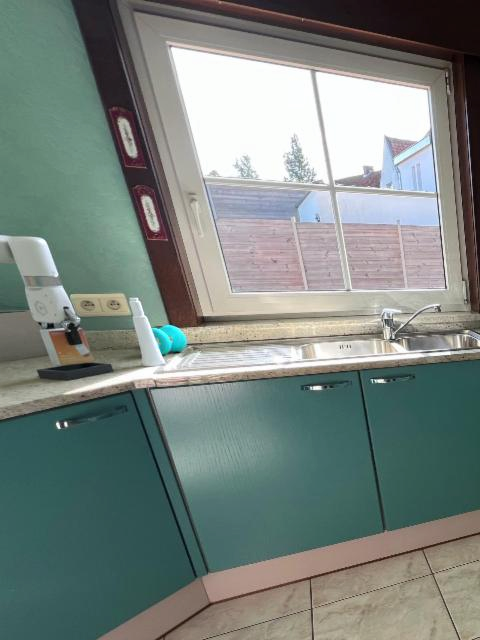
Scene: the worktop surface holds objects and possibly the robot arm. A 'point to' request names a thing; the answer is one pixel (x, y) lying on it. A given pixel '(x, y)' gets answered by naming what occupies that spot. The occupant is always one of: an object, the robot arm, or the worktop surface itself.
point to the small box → (65, 348)
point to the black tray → (75, 371)
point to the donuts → (165, 341)
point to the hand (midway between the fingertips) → (66, 343)
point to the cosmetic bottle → (145, 336)
